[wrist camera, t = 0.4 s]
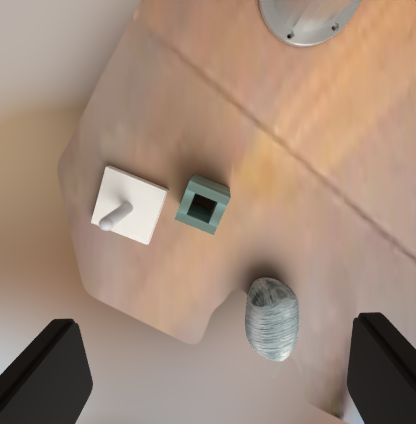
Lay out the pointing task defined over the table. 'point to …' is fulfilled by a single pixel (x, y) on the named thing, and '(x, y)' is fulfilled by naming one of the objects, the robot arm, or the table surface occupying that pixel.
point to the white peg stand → (128, 205)
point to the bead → (197, 214)
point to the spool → (272, 318)
